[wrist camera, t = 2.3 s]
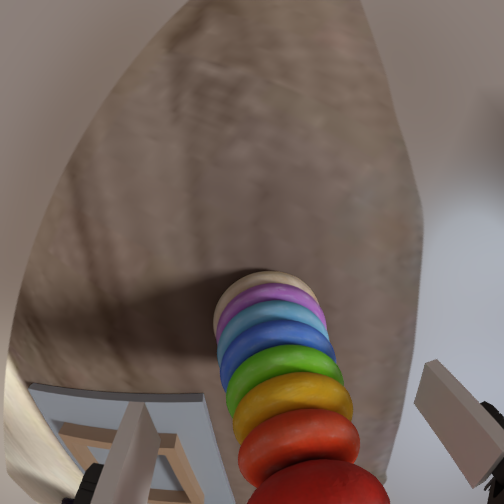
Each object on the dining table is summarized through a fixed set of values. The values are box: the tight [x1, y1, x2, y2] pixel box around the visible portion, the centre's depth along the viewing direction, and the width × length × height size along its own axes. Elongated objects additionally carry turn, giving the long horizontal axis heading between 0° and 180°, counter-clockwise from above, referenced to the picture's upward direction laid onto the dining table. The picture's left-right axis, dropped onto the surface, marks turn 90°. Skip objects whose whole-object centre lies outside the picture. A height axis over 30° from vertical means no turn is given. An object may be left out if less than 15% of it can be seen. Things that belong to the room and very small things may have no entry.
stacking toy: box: [213, 271, 390, 504], centre depth 13 cm, size 8×8×19 cm
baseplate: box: [28, 383, 235, 504], centre depth 24 cm, size 22×20×3 cm
